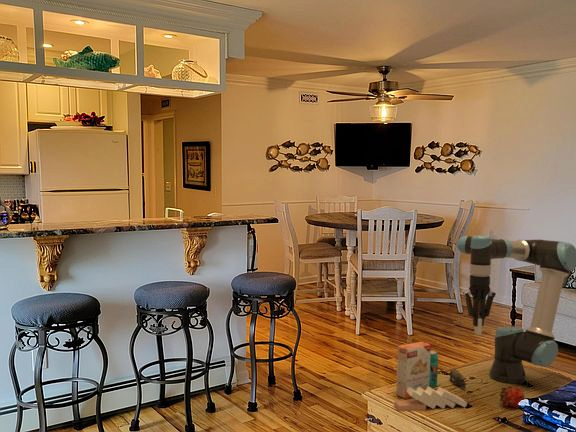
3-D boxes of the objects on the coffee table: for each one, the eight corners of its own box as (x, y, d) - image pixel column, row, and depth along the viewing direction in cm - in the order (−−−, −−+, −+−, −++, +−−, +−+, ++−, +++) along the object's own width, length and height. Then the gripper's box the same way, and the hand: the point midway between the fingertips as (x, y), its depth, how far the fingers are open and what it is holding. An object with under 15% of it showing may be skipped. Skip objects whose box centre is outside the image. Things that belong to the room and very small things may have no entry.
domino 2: (431, 399, 217) (408, 386, 216) (436, 404, 213) (413, 391, 211) (428, 404, 217) (406, 391, 216) (433, 409, 212) (410, 396, 211)
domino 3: (440, 399, 218) (418, 386, 216) (446, 404, 213) (423, 391, 211) (438, 403, 218) (415, 390, 216) (443, 408, 213) (420, 395, 211)
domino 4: (450, 398, 219) (428, 386, 217) (455, 403, 214) (433, 390, 212) (447, 403, 219) (425, 390, 217) (453, 408, 214) (430, 395, 212)
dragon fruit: (498, 411, 215) (519, 411, 220) (514, 405, 208) (535, 405, 214) (490, 390, 219) (512, 389, 224) (506, 383, 213) (527, 383, 218)
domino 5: (461, 398, 219) (438, 386, 218) (467, 403, 215) (444, 391, 213) (459, 402, 219) (436, 391, 218) (464, 407, 214) (441, 395, 213)
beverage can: (429, 389, 233) (430, 354, 232) (420, 384, 238) (421, 350, 237) (440, 387, 236) (441, 352, 235) (430, 382, 241) (431, 349, 240)
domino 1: (421, 399, 217) (394, 400, 215) (426, 404, 212) (398, 406, 210) (420, 404, 217) (394, 405, 215) (425, 409, 212) (398, 411, 210)
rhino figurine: (460, 392, 231) (460, 378, 230) (447, 380, 244) (447, 367, 244) (469, 391, 231) (470, 377, 231) (456, 380, 245) (456, 366, 244)
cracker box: (406, 400, 221) (407, 349, 220) (395, 395, 226) (396, 345, 225) (430, 393, 229) (431, 344, 227) (419, 388, 234) (420, 340, 232)
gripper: (490, 273, 219) (488, 331, 221) (459, 273, 217) (458, 332, 219) (500, 276, 212) (498, 336, 213) (469, 276, 210) (467, 337, 211)
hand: (478, 334), depth 216 cm, fingers closed
